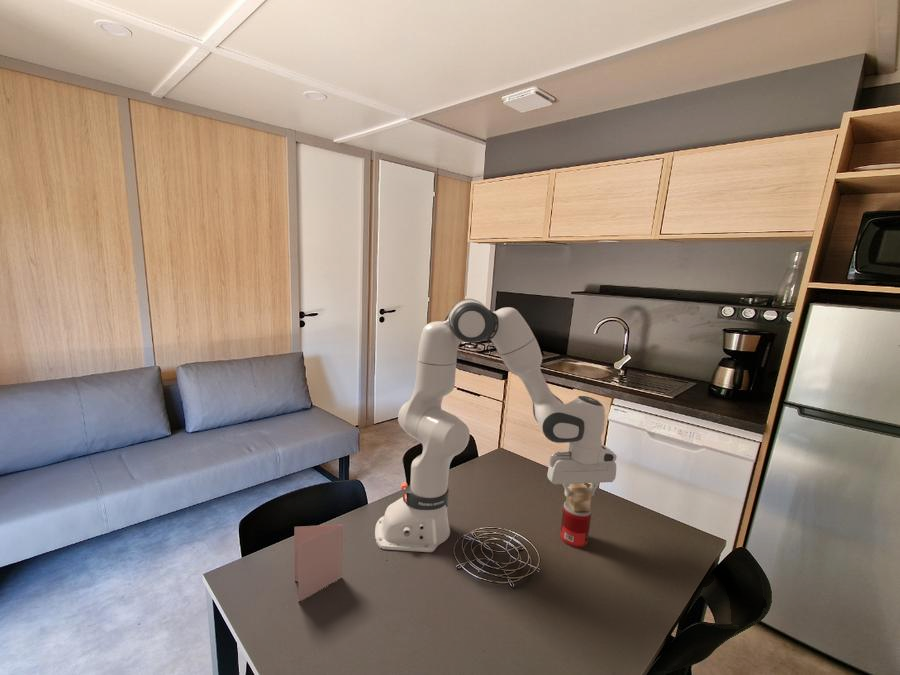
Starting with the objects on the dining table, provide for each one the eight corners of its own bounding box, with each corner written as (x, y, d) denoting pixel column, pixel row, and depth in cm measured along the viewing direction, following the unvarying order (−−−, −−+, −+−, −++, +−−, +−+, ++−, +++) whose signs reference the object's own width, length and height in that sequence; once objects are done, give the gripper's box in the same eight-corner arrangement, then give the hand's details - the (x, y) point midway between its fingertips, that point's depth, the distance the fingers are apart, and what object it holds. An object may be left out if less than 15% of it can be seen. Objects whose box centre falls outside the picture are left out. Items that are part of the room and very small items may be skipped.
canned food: (591, 549, 116) (595, 515, 115) (563, 547, 116) (567, 513, 115) (582, 532, 124) (586, 499, 122) (557, 530, 124) (561, 498, 122)
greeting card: (342, 575, 101) (343, 522, 98) (339, 599, 94) (340, 542, 91) (295, 578, 99) (295, 524, 96) (288, 603, 92) (288, 545, 89)
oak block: (573, 511, 116) (576, 493, 114) (565, 501, 120) (568, 483, 119) (589, 511, 116) (591, 492, 115) (581, 501, 121) (583, 483, 120)
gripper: (555, 457, 111) (550, 502, 113) (621, 455, 114) (615, 499, 116) (546, 447, 117) (541, 490, 119) (609, 446, 120) (604, 488, 123)
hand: (578, 495), depth 118 cm, fingers open, 6 cm apart
